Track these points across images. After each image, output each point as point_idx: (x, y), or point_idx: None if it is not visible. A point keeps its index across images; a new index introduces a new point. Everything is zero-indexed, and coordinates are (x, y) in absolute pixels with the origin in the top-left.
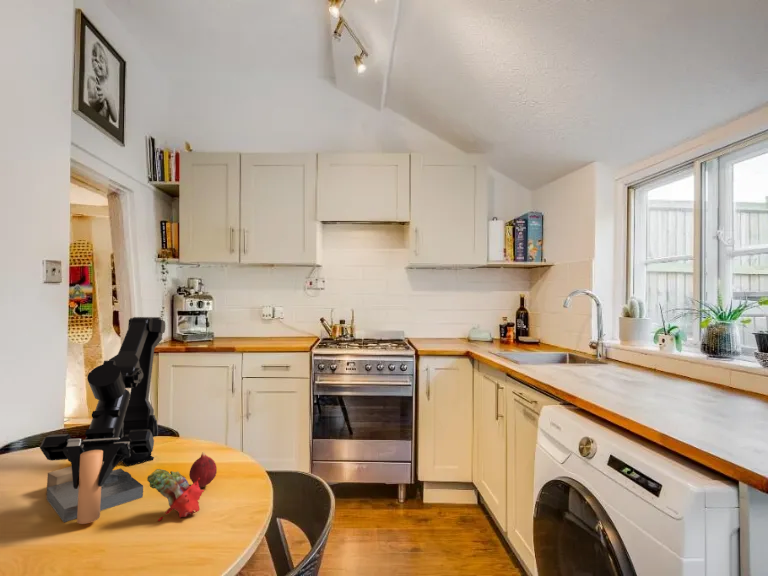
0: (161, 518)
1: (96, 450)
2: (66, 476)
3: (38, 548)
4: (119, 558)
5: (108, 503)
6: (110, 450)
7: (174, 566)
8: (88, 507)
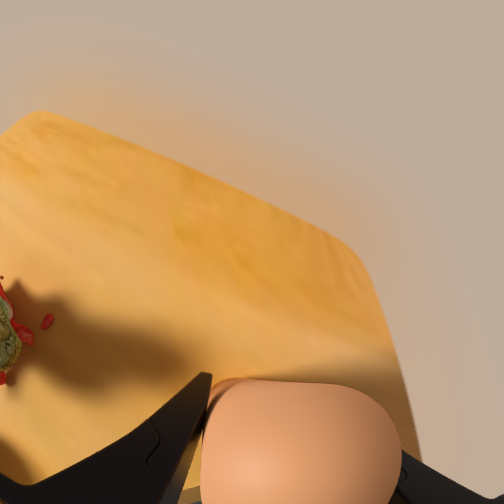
0: (44, 318)
1: None
2: None
3: (330, 314)
4: (148, 184)
5: (192, 493)
6: (126, 493)
7: (77, 128)
8: (239, 378)
